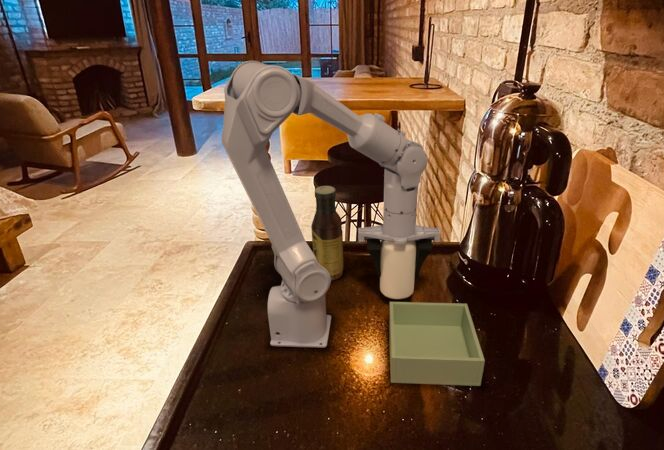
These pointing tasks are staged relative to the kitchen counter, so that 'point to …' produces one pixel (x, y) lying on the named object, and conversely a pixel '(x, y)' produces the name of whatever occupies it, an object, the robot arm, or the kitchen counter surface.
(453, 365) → the bin
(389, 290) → the can
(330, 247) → the sauce bottle
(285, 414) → the kitchen counter surface
